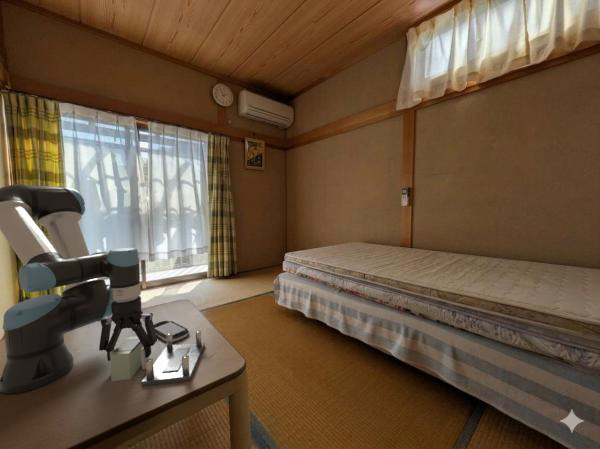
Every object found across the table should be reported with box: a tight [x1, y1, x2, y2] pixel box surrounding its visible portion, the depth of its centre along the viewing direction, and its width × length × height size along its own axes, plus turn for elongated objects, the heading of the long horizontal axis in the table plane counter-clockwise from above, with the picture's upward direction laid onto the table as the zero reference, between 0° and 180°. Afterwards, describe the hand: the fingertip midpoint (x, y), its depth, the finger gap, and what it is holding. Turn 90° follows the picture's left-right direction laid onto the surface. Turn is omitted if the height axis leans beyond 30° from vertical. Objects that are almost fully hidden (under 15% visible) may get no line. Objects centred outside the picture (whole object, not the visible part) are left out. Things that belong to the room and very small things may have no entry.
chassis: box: [141, 330, 206, 387], centre depth 77 cm, size 13×18×6 cm
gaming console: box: [153, 320, 190, 344], centre depth 97 cm, size 19×9×2 cm, turn 56°
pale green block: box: [109, 335, 143, 382], centre depth 75 cm, size 5×10×8 cm, turn 9°
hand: (130, 367), depth 75 cm, fingers open, 8 cm apart
